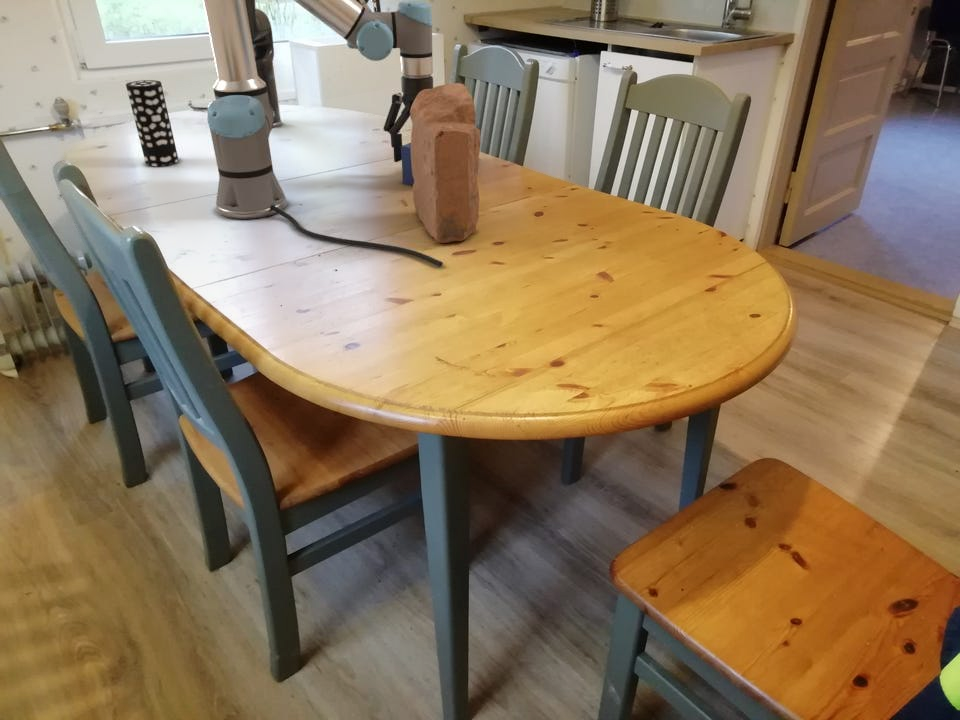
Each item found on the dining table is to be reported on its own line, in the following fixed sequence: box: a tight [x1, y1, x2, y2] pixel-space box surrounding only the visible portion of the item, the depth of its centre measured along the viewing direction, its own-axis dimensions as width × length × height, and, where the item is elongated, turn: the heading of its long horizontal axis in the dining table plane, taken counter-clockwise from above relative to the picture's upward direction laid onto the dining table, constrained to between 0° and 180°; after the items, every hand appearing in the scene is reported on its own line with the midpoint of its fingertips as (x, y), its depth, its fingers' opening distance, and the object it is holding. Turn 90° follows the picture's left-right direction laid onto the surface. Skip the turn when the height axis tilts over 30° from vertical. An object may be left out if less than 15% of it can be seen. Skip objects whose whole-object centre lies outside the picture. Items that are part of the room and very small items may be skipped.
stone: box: [410, 82, 482, 244], centre depth 143 cm, size 22×11×28 cm, turn 18°
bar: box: [401, 124, 479, 186], centre depth 180 cm, size 28×5×9 cm, turn 149°
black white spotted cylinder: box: [125, 79, 179, 167], centre depth 181 cm, size 8×8×20 cm
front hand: (420, 165), depth 174 cm, fingers open, 13 cm apart
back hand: (357, 35), depth 196 cm, fingers open, 8 cm apart
